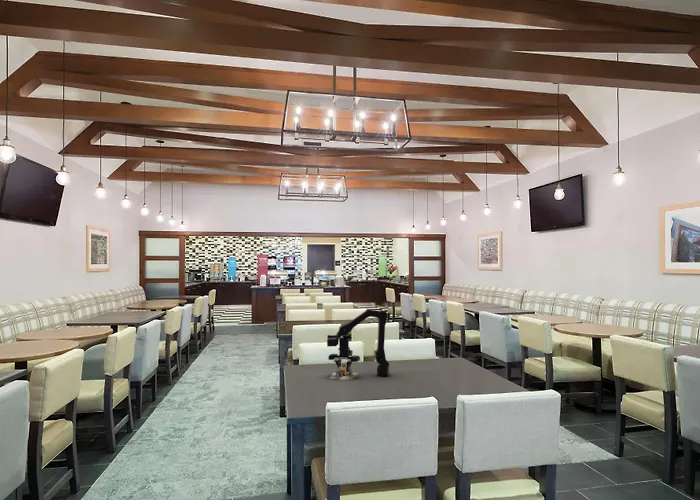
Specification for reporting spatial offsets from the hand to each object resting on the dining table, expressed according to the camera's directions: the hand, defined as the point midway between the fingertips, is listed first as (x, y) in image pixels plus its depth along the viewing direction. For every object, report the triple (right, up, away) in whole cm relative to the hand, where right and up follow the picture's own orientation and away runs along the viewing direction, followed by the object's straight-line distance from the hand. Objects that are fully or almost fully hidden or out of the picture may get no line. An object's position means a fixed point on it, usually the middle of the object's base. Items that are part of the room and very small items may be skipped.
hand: (344, 372), depth 259 cm
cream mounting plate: (0, -3, 0) cm, 3 cm away
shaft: (-5, -2, -4) cm, 7 cm away
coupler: (0, -1, 0) cm, 1 cm away
